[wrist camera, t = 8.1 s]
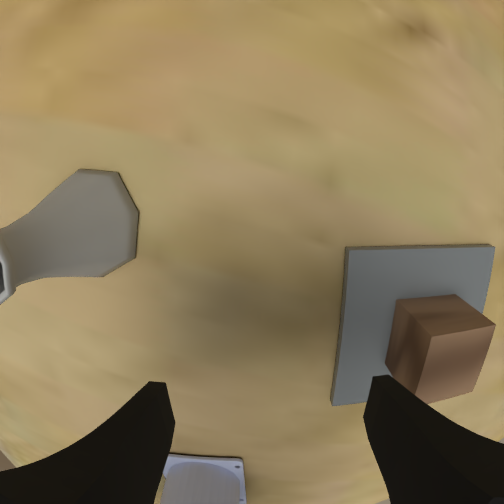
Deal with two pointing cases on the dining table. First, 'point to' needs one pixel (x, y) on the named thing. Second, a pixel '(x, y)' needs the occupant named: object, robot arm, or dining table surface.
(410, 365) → the walnut cube
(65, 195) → the flask
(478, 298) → the coaster
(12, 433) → the dining table surface
